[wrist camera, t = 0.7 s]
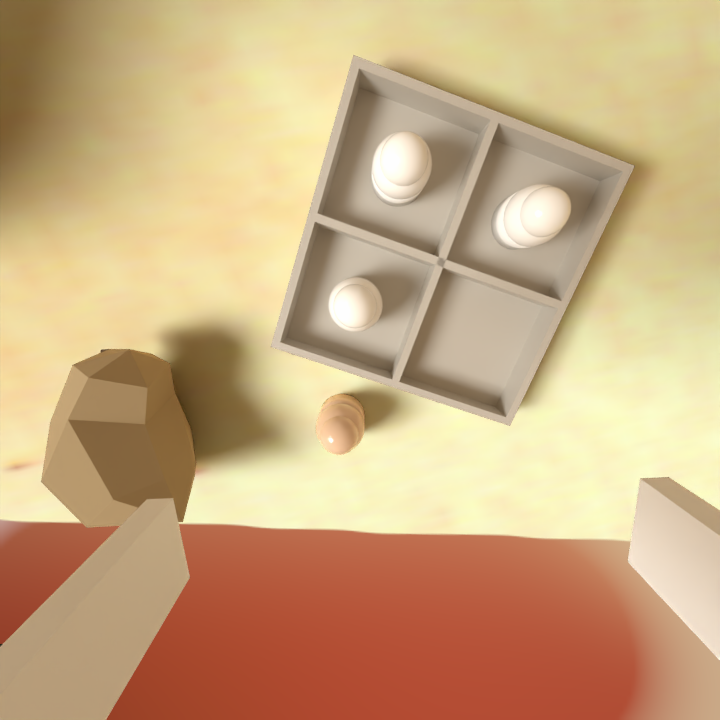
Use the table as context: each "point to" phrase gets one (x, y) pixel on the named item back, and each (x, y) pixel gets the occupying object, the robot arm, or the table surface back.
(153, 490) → the low-poly potato
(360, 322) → the white egg
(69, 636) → the robot arm
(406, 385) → the carton
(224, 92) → the table surface
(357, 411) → the brown egg
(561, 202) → the white egg
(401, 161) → the white egg
